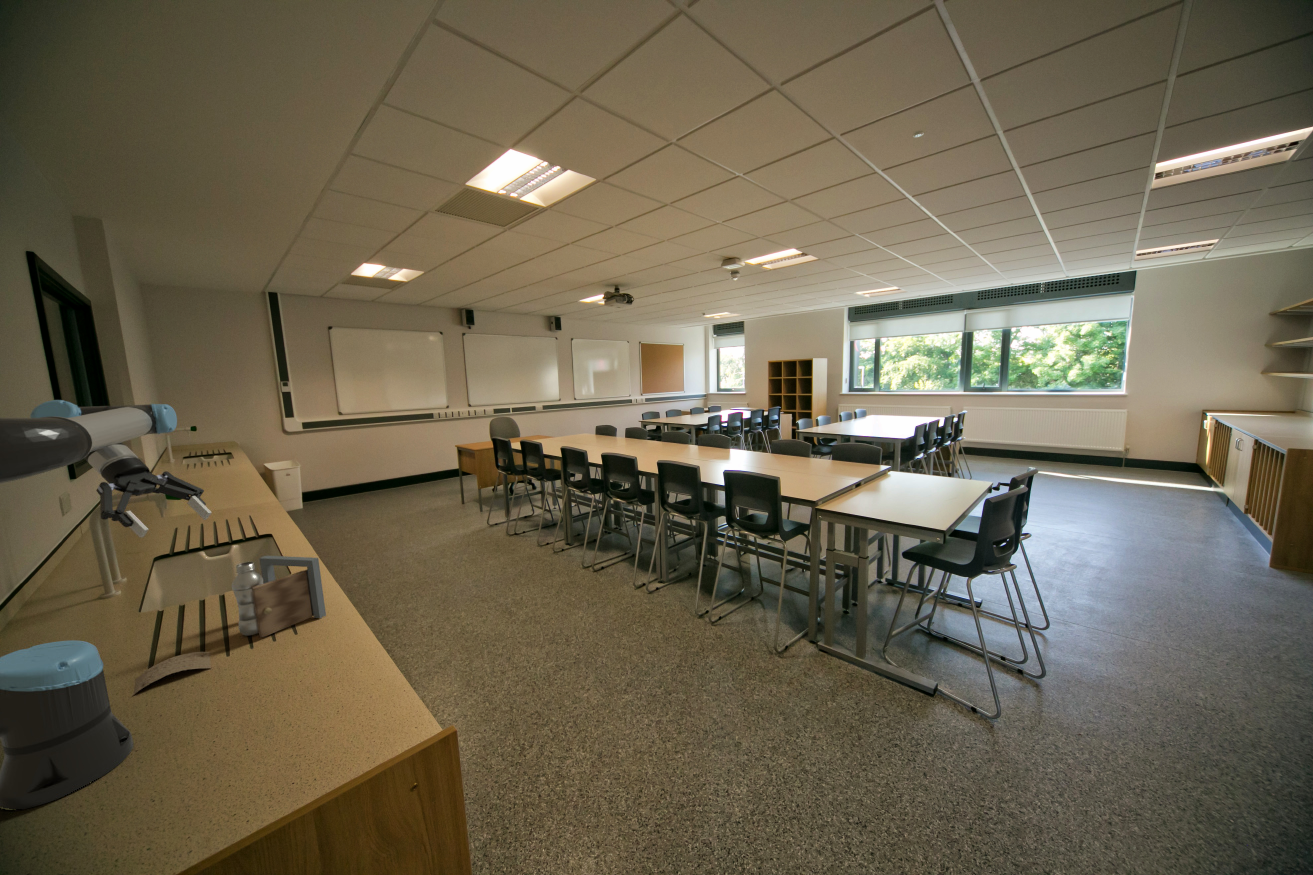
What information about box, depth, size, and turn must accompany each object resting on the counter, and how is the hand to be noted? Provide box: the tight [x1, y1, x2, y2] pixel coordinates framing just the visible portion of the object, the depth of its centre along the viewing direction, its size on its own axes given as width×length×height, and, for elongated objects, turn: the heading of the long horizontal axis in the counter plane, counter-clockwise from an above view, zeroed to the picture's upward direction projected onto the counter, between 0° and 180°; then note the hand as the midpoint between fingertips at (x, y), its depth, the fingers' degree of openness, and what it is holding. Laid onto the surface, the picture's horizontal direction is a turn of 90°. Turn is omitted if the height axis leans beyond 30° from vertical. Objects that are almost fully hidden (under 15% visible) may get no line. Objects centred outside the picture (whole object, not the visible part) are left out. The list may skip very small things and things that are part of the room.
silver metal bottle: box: [231, 561, 263, 637], centre depth 125 cm, size 6×7×20 cm
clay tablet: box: [132, 651, 212, 696], centre depth 109 cm, size 14×10×3 cm
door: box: [252, 569, 314, 638], centre depth 127 cm, size 13×3×14 cm, turn 151°
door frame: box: [259, 555, 327, 619], centre depth 134 cm, size 2×18×18 cm, turn 81°
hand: (178, 524), depth 116 cm, fingers open, 13 cm apart
